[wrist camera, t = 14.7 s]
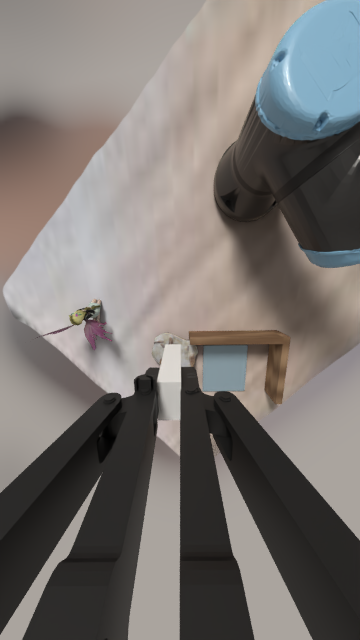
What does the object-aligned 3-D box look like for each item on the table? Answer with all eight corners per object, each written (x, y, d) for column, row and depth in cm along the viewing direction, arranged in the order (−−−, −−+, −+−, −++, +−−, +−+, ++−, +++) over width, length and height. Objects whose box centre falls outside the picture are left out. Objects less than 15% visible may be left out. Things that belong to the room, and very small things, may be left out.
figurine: (124, 302, 46) (97, 312, 31) (122, 331, 47) (97, 354, 33) (71, 295, 45) (19, 303, 31) (72, 325, 47) (23, 346, 32)
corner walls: (188, 331, 47) (190, 338, 41) (276, 330, 47) (290, 337, 41) (188, 390, 51) (190, 404, 45) (270, 389, 51) (281, 404, 45)
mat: (203, 345, 48) (203, 345, 48) (247, 344, 48) (247, 345, 48) (202, 390, 51) (202, 391, 51) (243, 390, 51) (244, 390, 51)
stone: (149, 359, 49) (147, 364, 45) (157, 328, 47) (156, 331, 44) (190, 371, 49) (191, 376, 46) (200, 340, 48) (201, 344, 44)
